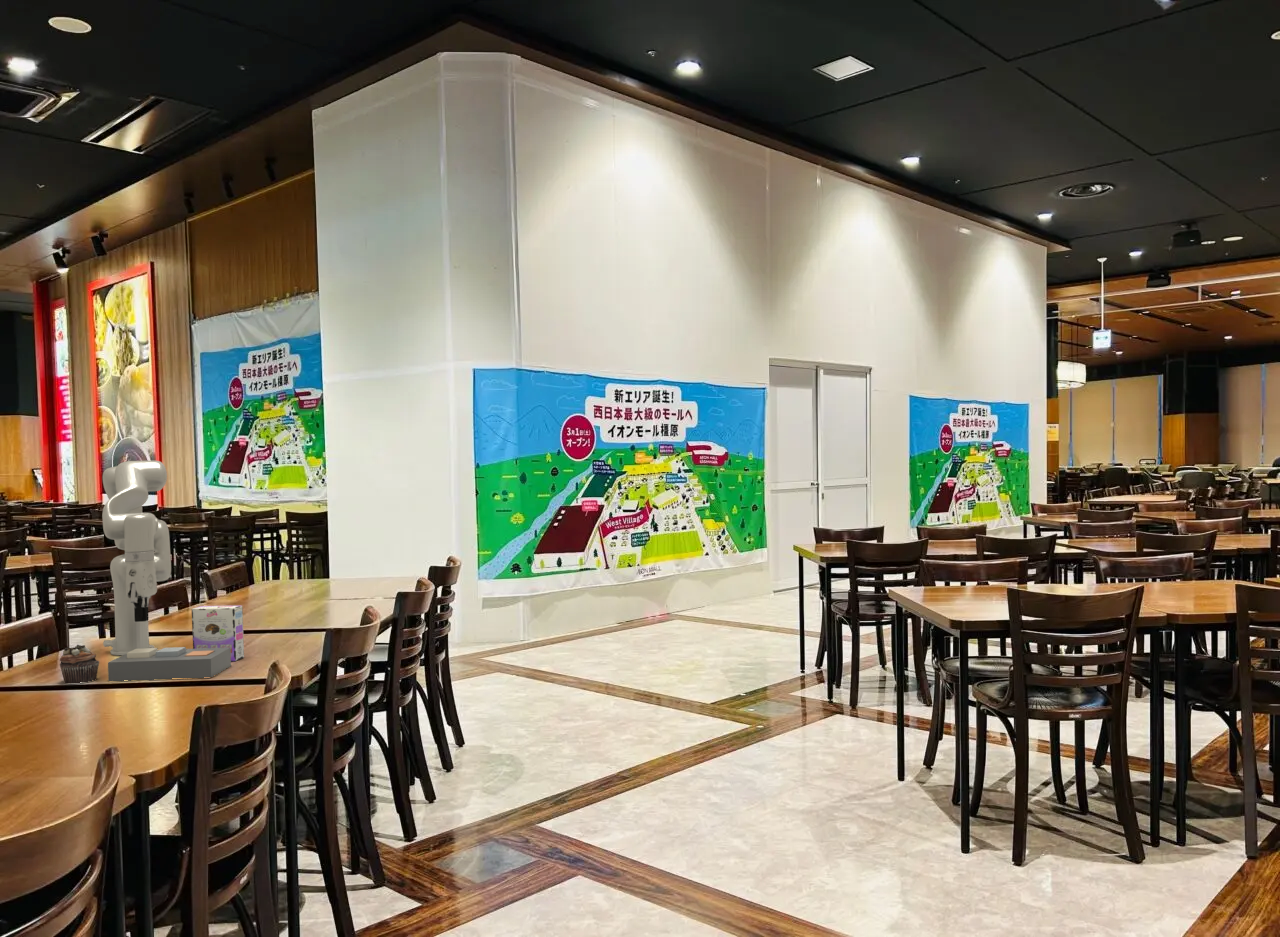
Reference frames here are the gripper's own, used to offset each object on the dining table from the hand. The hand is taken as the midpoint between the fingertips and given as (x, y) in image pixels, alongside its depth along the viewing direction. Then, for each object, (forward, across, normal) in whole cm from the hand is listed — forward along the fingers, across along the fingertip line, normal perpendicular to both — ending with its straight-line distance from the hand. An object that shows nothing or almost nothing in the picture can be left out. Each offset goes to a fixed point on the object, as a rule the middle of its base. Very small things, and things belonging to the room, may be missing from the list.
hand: (141, 620), depth 280 cm
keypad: (+16, +1, -8) cm, 17 cm away
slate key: (+12, +1, -8) cm, 14 cm away
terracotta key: (+13, +1, -16) cm, 21 cm away
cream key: (+12, +1, 0) cm, 12 cm away
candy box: (+16, +19, -15) cm, 28 cm away
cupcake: (+16, -4, +15) cm, 22 cm away
